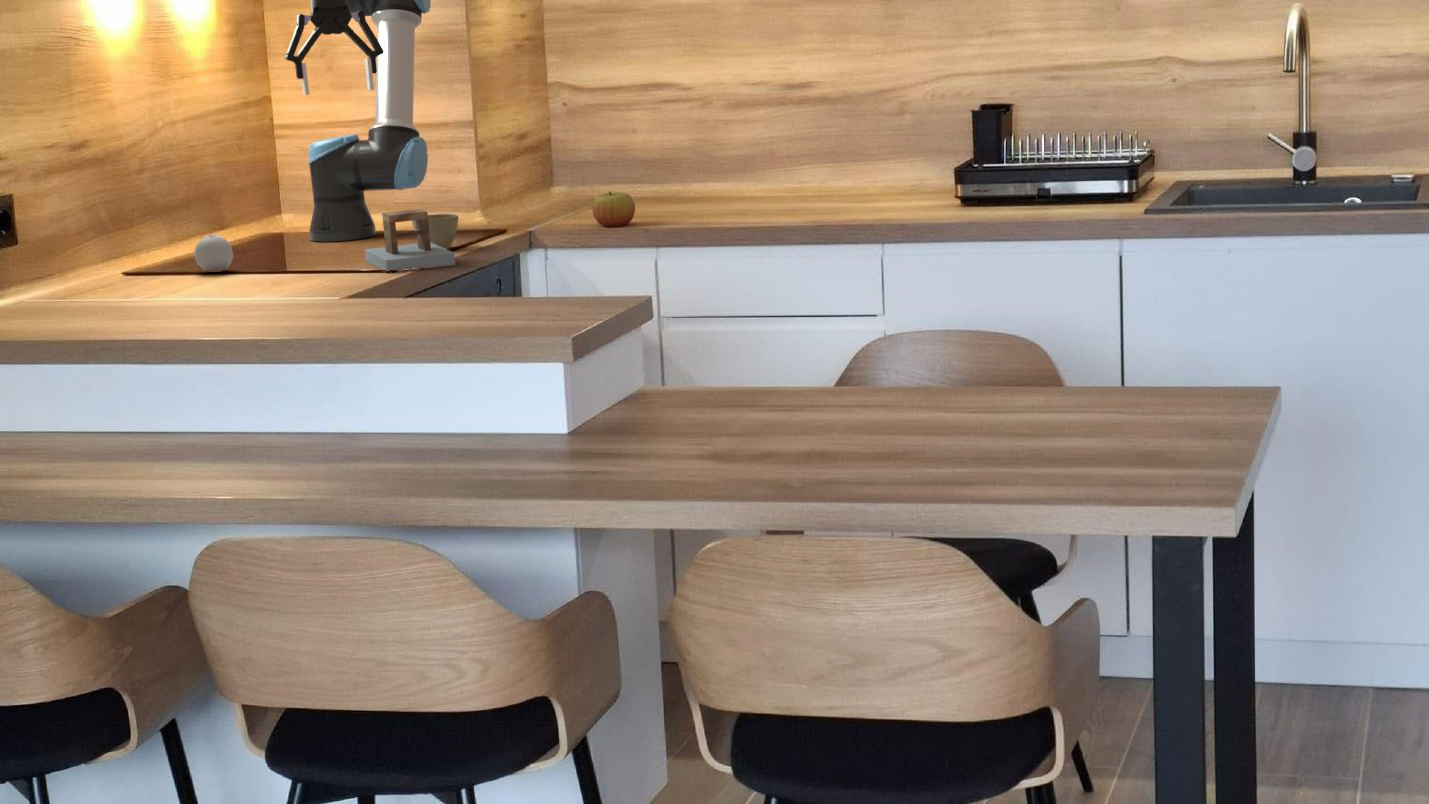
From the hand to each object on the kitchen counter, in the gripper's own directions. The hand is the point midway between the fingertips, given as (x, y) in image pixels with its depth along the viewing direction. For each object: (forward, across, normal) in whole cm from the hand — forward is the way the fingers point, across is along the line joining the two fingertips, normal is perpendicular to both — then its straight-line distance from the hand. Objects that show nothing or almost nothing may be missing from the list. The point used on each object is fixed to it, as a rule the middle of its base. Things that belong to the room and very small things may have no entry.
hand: (338, 92), depth 366 cm
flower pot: (+35, +17, -4) cm, 39 cm away
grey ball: (+35, -30, -1) cm, 46 cm away
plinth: (+35, +7, -20) cm, 41 cm away
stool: (+32, +7, -20) cm, 38 cm away
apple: (+35, +60, +2) cm, 70 cm away
